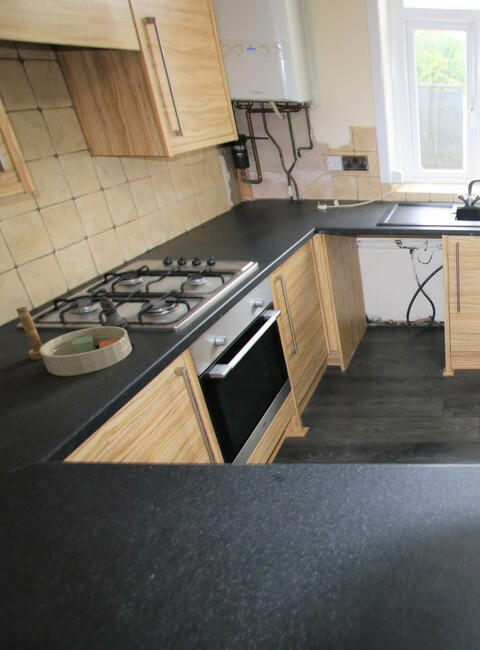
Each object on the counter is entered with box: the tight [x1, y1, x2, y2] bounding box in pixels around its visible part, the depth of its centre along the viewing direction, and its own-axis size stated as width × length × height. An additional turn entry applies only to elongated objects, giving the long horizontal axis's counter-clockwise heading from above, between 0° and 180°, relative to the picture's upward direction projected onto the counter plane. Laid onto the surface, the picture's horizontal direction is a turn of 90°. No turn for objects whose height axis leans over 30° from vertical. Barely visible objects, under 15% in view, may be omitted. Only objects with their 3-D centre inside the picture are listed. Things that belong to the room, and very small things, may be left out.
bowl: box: [39, 326, 133, 377], centre depth 123 cm, size 17×17×6 cm
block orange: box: [98, 338, 119, 349], centre depth 124 cm, size 4×4×4 cm
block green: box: [72, 335, 97, 354], centre depth 125 cm, size 4×4×4 cm
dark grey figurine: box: [99, 295, 128, 329], centre depth 136 cm, size 6×6×12 cm
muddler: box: [15, 306, 44, 361], centre depth 122 cm, size 4×4×14 cm
